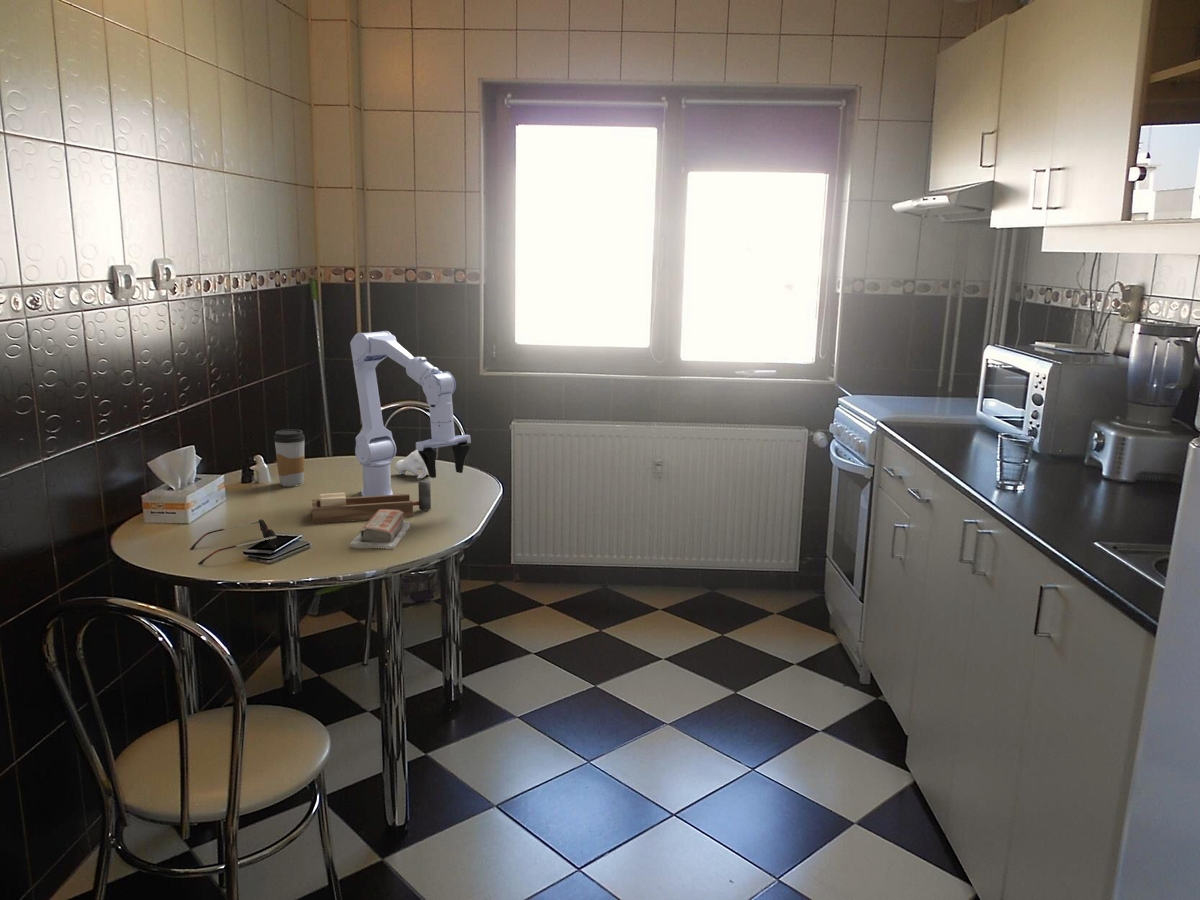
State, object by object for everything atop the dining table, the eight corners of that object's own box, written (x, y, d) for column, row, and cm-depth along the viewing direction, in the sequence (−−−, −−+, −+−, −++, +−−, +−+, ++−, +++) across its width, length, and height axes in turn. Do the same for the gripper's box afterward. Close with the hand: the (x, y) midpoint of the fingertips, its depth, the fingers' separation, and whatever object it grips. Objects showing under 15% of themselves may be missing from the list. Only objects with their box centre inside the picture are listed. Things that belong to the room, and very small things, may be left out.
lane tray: (312, 512, 227) (311, 498, 226) (408, 505, 234) (408, 492, 234) (313, 523, 218) (312, 509, 217) (413, 516, 225) (413, 503, 224)
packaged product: (370, 506, 217) (411, 508, 217) (370, 526, 218) (411, 527, 218) (349, 529, 200) (393, 530, 200) (349, 550, 201) (394, 551, 201)
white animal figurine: (425, 451, 258) (388, 451, 262) (428, 479, 260) (391, 479, 263) (435, 446, 264) (399, 447, 268) (438, 475, 266) (402, 475, 269)
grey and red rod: (320, 512, 225) (319, 485, 224) (429, 505, 233) (428, 478, 232) (321, 518, 220) (319, 490, 219) (432, 510, 229) (431, 483, 227)
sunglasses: (278, 555, 196) (276, 533, 195) (200, 572, 188) (196, 550, 187) (263, 538, 208) (261, 517, 206) (189, 553, 199) (185, 532, 198)
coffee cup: (313, 483, 254) (311, 431, 251) (289, 489, 247) (286, 436, 244) (294, 478, 259) (291, 427, 255) (269, 484, 252) (266, 432, 249)
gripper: (423, 426, 216) (428, 481, 219) (475, 419, 225) (479, 472, 228) (410, 424, 222) (414, 477, 224) (461, 416, 231) (464, 468, 233)
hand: (446, 474), depth 226 cm, fingers open, 7 cm apart
